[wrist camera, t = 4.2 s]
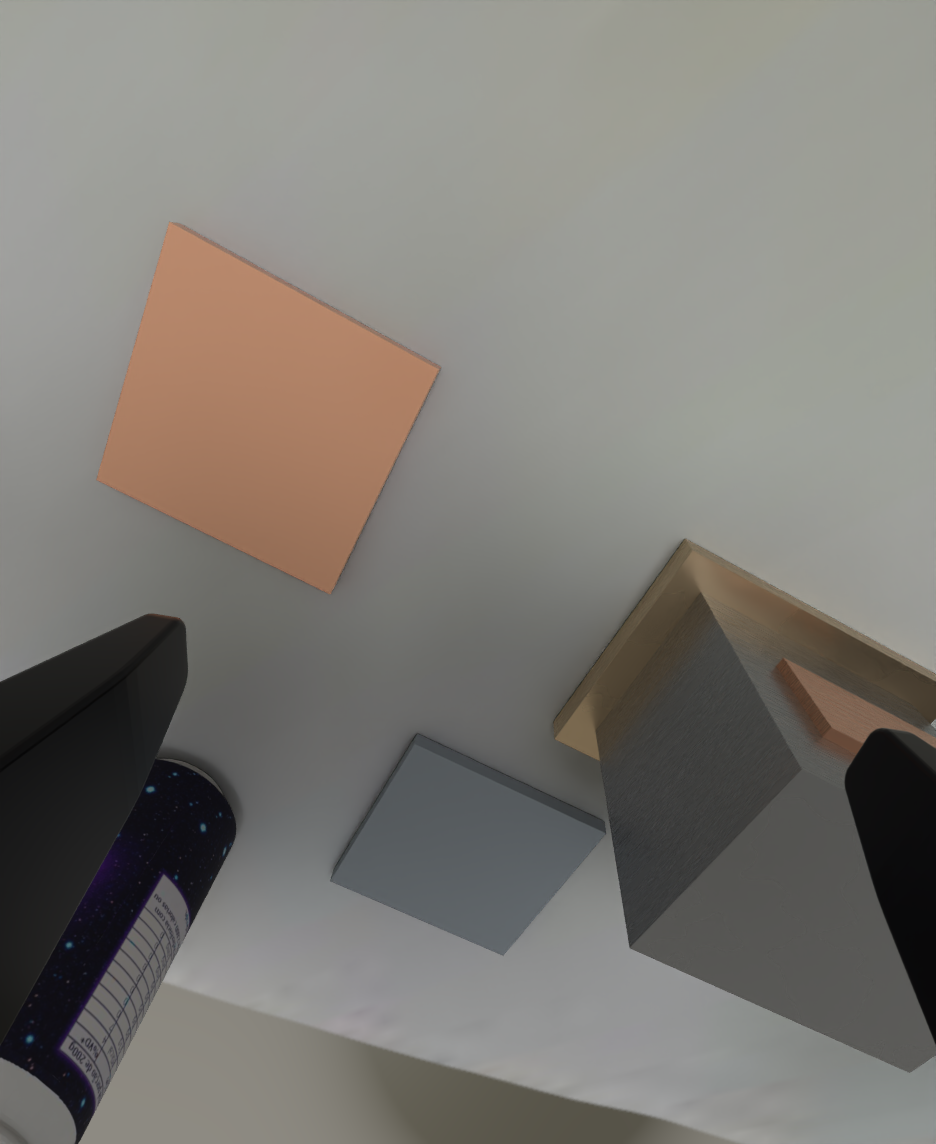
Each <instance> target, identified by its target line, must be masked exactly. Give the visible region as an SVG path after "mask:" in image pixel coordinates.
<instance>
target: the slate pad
mask: <svg viewBox="0 0 936 1144" xmlns="http://www.w3.org/2000/svg"><path fill="white" fill-rule="evenodd" d="M605 834H606V830H605V823H604V821H602V820H600V819H598V818H596V817H594V816H592V815H589V814H587V813H585V812H583V811H581V810H579V809H577V808H575V807H572V806H570V805H568V804H566V803H564V802H562V801H560V800H557V799H555V798H553V797H551V796H549V795H547V794H545V793H543V792H540V791H538V790H536V789H534V788H532V787H530V786H528V785H526V784H523V783H521V782H519V781H517V780H515V779H513V778H511V777H509V776H506V775H504V774H502V773H500V772H498V771H496V770H494V769H492V768H489V767H487V766H485V765H483V764H481V763H479V762H477V761H475V760H472V759H470V758H468V757H466V756H464V755H462V754H460V753H457V752H455V751H453V750H451V749H449V748H447V747H445V746H443V745H440V744H438V743H436V742H434V741H432V740H430V739H428V738H426V737H423V736H421V735H419V734H417V735H416V736H415V738H414V740H413V741H412V743H411V744H410V746H409V748H408V749H407V751H406V753H405V754H404V756H403V758H402V759H401V761H400V762H399V764H398V766H397V767H396V769H395V771H394V772H393V774H392V775H391V777H390V779H389V780H388V782H387V784H386V785H385V787H384V789H383V790H382V792H381V793H380V795H379V797H378V798H377V800H376V802H375V803H374V805H373V806H372V808H371V810H370V811H369V813H368V815H367V816H366V818H365V820H364V821H363V823H362V824H361V826H360V828H359V829H358V831H357V833H356V834H355V836H354V837H353V839H352V841H351V842H350V844H349V846H348V847H347V849H346V851H345V852H344V854H343V855H342V857H341V859H340V860H339V862H338V864H337V865H336V867H335V869H334V871H333V874H332V877H331V880H330V881H331V882H334V883H336V884H338V885H341V886H343V887H345V888H347V889H350V890H352V891H354V892H357V893H359V894H361V895H364V896H366V897H368V898H371V899H373V900H375V901H378V902H380V903H382V904H385V905H387V906H389V907H392V908H394V909H396V910H398V911H401V912H403V913H405V914H408V915H410V916H412V917H415V918H417V919H419V920H422V921H424V922H426V923H429V924H431V925H433V926H436V927H438V928H440V929H442V930H445V931H447V932H449V933H452V934H454V935H456V936H459V937H461V938H463V939H466V940H468V941H470V942H473V943H475V944H477V945H480V946H482V947H484V948H487V949H489V950H491V951H493V952H496V953H498V954H500V955H504V954H505V953H506V952H507V950H508V949H509V948H510V947H511V946H512V945H513V943H514V942H515V941H516V940H517V939H518V937H519V936H520V935H521V934H522V933H523V931H524V930H525V929H526V928H527V927H528V926H529V924H530V923H531V922H532V921H533V920H534V918H535V917H536V916H537V915H538V914H539V912H540V911H541V910H542V909H543V908H544V907H545V905H546V904H547V903H548V902H549V901H550V899H551V898H552V897H553V896H554V895H555V893H556V892H557V891H558V890H559V889H560V888H561V886H562V885H563V884H564V883H565V882H566V880H567V879H568V878H569V877H570V876H571V874H572V873H573V872H574V871H575V870H576V868H577V867H578V866H579V865H580V864H581V863H582V861H583V860H584V859H585V858H586V857H587V855H588V854H589V853H590V852H591V851H592V849H593V848H594V847H595V846H596V845H597V844H598V842H599V841H600V840H601V839H602V838H603V836H604V835H605Z"/></svg>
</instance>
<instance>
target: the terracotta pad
mask: <svg viewBox="0 0 936 1144" xmlns="http://www.w3.org/2000/svg"><path fill="white" fill-rule="evenodd" d="M440 369H441V367H440V366H438V365H437V364H435V363H433V362H431V361H429V360H427V359H426V358H424V357H422V356H420V355H418V354H417V353H415V352H413V351H411V350H409V349H407V348H406V347H404V346H402V345H400V344H398V343H396V342H395V341H393V340H391V339H389V338H387V337H386V336H384V335H382V334H380V333H378V332H376V331H375V330H373V329H371V328H369V327H367V326H366V325H364V324H362V323H360V322H358V321H356V320H355V319H353V318H351V317H349V316H347V315H346V314H344V313H342V312H340V311H338V310H336V309H335V308H333V307H331V306H329V305H327V304H325V303H324V302H322V301H320V300H318V299H316V298H315V297H313V296H311V295H309V294H307V293H305V292H304V291H302V290H300V289H298V288H296V287H295V286H293V285H291V284H289V283H287V282H285V281H284V280H282V279H280V278H278V277H276V276H274V275H273V274H271V273H269V272H267V271H265V270H264V269H262V268H260V267H258V266H256V265H254V264H253V263H251V262H249V261H247V260H245V259H244V258H242V257H240V256H238V255H236V254H234V253H233V252H231V251H229V250H227V249H225V248H223V247H222V246H220V245H218V244H216V243H214V242H213V241H211V240H209V239H207V238H205V237H203V236H202V235H200V234H198V233H196V232H194V231H193V230H191V229H189V228H187V227H185V226H183V225H182V224H179V223H173V222H169V225H168V229H167V232H166V236H165V239H164V243H163V246H162V250H161V253H160V257H159V261H158V264H157V268H156V271H155V275H154V278H153V282H152V285H151V289H150V292H149V296H148V299H147V303H146V306H145V310H144V314H143V317H142V321H141V324H140V328H139V331H138V335H137V338H136V342H135V345H134V349H133V352H132V356H131V359H130V363H129V366H128V370H127V374H126V377H125V381H124V384H123V388H122V391H121V395H120V398H119V402H118V405H117V409H116V412H115V416H114V419H113V423H112V427H111V430H110V434H109V437H108V441H107V444H106V448H105V451H104V455H103V458H102V462H101V465H100V469H99V472H98V476H97V479H96V480H98V481H100V482H102V483H104V484H106V485H108V486H110V487H112V488H114V489H116V490H118V491H120V492H122V493H124V494H126V495H128V496H130V497H132V498H134V499H136V500H138V501H140V502H142V503H144V504H147V505H149V506H151V507H153V508H155V509H157V510H159V511H161V512H163V513H165V514H167V515H169V516H171V517H173V518H175V519H177V520H179V521H181V522H183V523H185V524H187V525H189V526H191V527H193V528H195V529H198V530H200V531H202V532H204V533H206V534H208V535H210V536H212V537H214V538H216V539H218V540H220V541H222V542H224V543H226V544H228V545H230V546H232V547H234V548H236V549H238V550H240V551H242V552H244V553H247V554H249V555H251V556H253V557H255V558H257V559H259V560H261V561H263V562H265V563H267V564H269V565H271V566H273V567H275V568H277V569H279V570H281V571H283V572H285V573H287V574H289V575H291V576H293V577H295V578H298V579H300V580H302V581H304V582H306V583H308V584H310V585H312V586H314V587H316V588H318V589H320V590H322V591H324V592H326V593H328V594H331V592H332V591H333V589H334V588H335V586H336V584H337V582H338V580H339V578H340V575H341V573H342V571H343V569H344V567H345V565H346V563H347V561H348V559H349V557H350V555H351V553H352V551H353V549H354V547H355V544H356V542H357V540H358V538H359V536H360V534H361V532H362V530H363V528H364V526H365V524H366V522H367V520H368V518H369V516H370V514H371V511H372V509H373V507H374V505H375V503H376V501H377V499H378V497H379V495H380V493H381V491H382V489H383V487H384V485H385V483H386V480H387V478H388V476H389V474H390V472H391V470H392V468H393V466H394V464H395V462H396V460H397V458H398V456H399V454H400V452H401V449H402V447H403V445H404V443H405V441H406V439H407V437H408V435H409V433H410V431H411V429H412V427H413V425H414V423H415V421H416V418H417V416H418V414H419V412H420V410H421V408H422V406H423V404H424V402H425V400H426V398H427V396H428V394H429V392H430V390H431V388H432V385H433V383H434V381H435V379H436V377H437V375H438V373H439V371H440Z"/></svg>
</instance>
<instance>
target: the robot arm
mask: <svg viewBox="0 0 936 1144" xmlns="http://www.w3.org/2000/svg"><path fill="white" fill-rule="evenodd" d="M187 675H188V662H187V642H186V627H185V624H184V622H183V621H182V620H181V619H180V618H178V617H171V616H165V615H158V614H146V615H144V616H141V617H139V618H137V619H135V620H133V621H131V622H128V623H126V624H124V625H122V626H120V627H118V628H115V629H113V630H111V631H109V632H107V633H105V634H102V635H100V636H98V637H96V638H94V639H92V640H90V641H87V642H85V643H83V644H81V645H79V646H77V647H74V648H72V649H70V650H68V651H66V652H64V653H61V654H59V655H57V656H55V657H53V658H51V659H48V660H46V661H44V662H42V663H40V664H38V665H36V666H33V667H31V668H29V669H27V670H25V671H23V672H20V673H18V674H16V675H14V676H12V677H10V678H7V679H5V680H3V681H1V682H0V1045H1V1043H2V1042H3V1040H4V1038H5V1036H6V1034H7V1033H8V1031H9V1029H10V1027H11V1025H12V1024H13V1022H14V1020H15V1018H16V1016H17V1015H18V1013H19V1011H20V1009H21V1008H22V1006H23V1004H24V1002H25V1000H26V999H27V997H28V995H29V993H30V991H31V990H32V988H33V986H34V984H35V983H36V981H37V979H38V977H39V975H40V974H41V972H42V970H43V968H44V966H45V965H46V963H47V961H48V959H49V958H50V956H51V954H52V952H53V950H54V949H55V947H56V945H57V943H58V941H59V940H60V938H61V936H62V934H63V932H64V931H65V929H66V927H67V925H68V924H69V922H70V920H71V918H72V916H73V915H74V913H75V911H76V909H77V907H78V906H79V904H80V902H81V900H82V899H83V897H84V895H85V893H86V891H87V890H88V888H89V886H90V884H91V882H92V881H93V879H94V877H95V875H96V874H97V872H98V870H99V868H100V866H101V865H102V863H103V861H104V859H105V857H106V856H107V854H108V852H109V850H110V849H111V847H112V845H113V843H114V841H115V840H116V838H117V836H118V834H119V832H120V831H121V829H122V827H123V825H124V823H125V822H126V820H127V818H128V816H129V815H130V813H131V811H132V809H133V807H134V805H135V803H136V801H137V799H138V797H139V795H140V793H141V791H142V789H143V786H144V784H145V782H146V780H147V777H148V775H149V773H150V770H151V768H152V765H153V763H154V761H155V758H156V756H157V753H158V751H159V749H160V746H161V744H162V741H163V739H164V737H165V734H166V732H167V729H168V727H169V725H170V722H171V720H172V717H173V715H174V713H175V710H176V708H177V705H178V703H179V701H180V698H181V696H182V693H183V691H184V688H185V685H186V681H187ZM844 784H845V791H846V794H847V798H848V801H849V804H850V808H851V811H852V815H853V818H854V821H855V825H856V828H857V832H858V835H859V839H860V842H861V845H862V849H863V852H864V856H865V859H866V863H867V866H868V869H869V873H870V876H871V880H872V883H873V886H874V889H875V892H876V895H877V899H878V901H879V904H880V907H881V909H882V912H883V915H884V917H885V920H886V923H887V925H888V928H889V930H890V933H891V935H892V938H893V940H894V943H895V945H896V948H897V950H898V953H899V955H900V958H901V960H902V963H903V965H904V968H905V970H906V973H907V975H908V978H909V980H910V983H911V985H912V988H913V990H914V993H915V995H916V998H917V1000H918V1003H919V1005H920V1008H921V1010H922V1013H923V1015H924V1018H925V1020H926V1023H927V1025H928V1028H929V1030H930V1033H931V1035H932V1038H933V1040H934V1043H935V1045H936V748H934V747H933V746H931V745H930V744H928V743H927V742H925V741H924V740H922V739H921V738H919V737H918V736H916V735H915V734H913V733H910V732H907V731H902V730H895V729H889V728H878V729H876V730H874V731H872V732H871V733H870V734H869V736H868V737H867V739H866V740H865V742H864V743H863V745H862V747H861V748H860V750H859V751H858V753H857V754H856V756H855V757H854V759H853V761H852V762H851V764H850V765H849V767H848V769H847V770H846V774H845V780H844Z"/></svg>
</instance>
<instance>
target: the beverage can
mask: <svg viewBox="0 0 936 1144" xmlns="http://www.w3.org/2000/svg"><path fill="white" fill-rule="evenodd" d="M235 835H236V823H235V818H234V815H233V812H232V810H231V807H230V805H229V804H228V802H227V800H226V799H225V797H224V795H223V793H222V791H221V789H220V788H219V786H218V785H217V784H216V783H215V781H214V780H213V779H212V778H211V777H210V776H208V775H207V774H206V773H205V772H203V771H202V770H200V769H198V768H197V767H195V766H193V765H190V764H188V763H186V762H182V761H179V760H174V759H163V758H162V759H155V761H154V763H153V765H152V768H151V770H150V773H149V775H148V777H147V780H146V782H145V784H144V786H143V789H142V791H141V793H140V795H139V797H138V799H137V801H136V803H135V805H134V807H133V809H132V811H131V813H130V815H129V816H128V818H127V820H126V822H125V823H124V825H123V827H122V829H121V831H120V832H119V834H118V836H117V838H116V840H115V841H114V843H113V845H112V847H111V849H110V850H109V852H108V854H107V856H106V857H105V859H104V861H103V863H102V865H101V866H100V868H99V870H98V872H97V874H96V875H95V877H94V879H93V881H92V882H91V884H90V886H89V888H88V890H87V891H86V893H85V895H84V897H83V899H82V900H81V902H80V904H79V906H78V907H77V909H76V911H75V913H74V915H73V916H72V918H71V920H70V922H69V924H68V925H67V927H66V929H65V931H64V932H63V934H62V936H61V938H60V940H59V941H58V943H57V945H56V947H55V949H54V950H53V952H52V954H51V956H50V958H49V959H48V961H47V963H46V965H45V966H44V968H43V970H42V972H41V974H40V975H39V977H38V979H37V981H36V983H35V984H34V986H33V988H32V990H31V991H30V993H29V995H28V997H27V999H26V1000H25V1002H24V1004H23V1006H22V1008H21V1009H20V1011H19V1013H18V1015H17V1016H16V1018H15V1020H14V1022H13V1024H12V1025H11V1027H10V1029H9V1031H8V1033H7V1034H6V1036H5V1038H4V1040H3V1042H2V1043H1V1045H0V1144H78V1143H79V1141H80V1140H81V1138H82V1136H83V1134H84V1132H85V1130H86V1128H87V1126H88V1124H89V1122H90V1120H91V1118H92V1116H93V1115H94V1113H95V1111H96V1109H97V1107H98V1105H99V1103H100V1101H101V1099H102V1097H103V1095H104V1093H105V1091H106V1089H107V1087H108V1085H109V1084H110V1082H111V1079H112V1078H113V1076H114V1074H115V1072H116V1070H117V1068H118V1066H119V1064H120V1062H121V1060H122V1058H123V1056H124V1054H125V1053H126V1051H127V1049H128V1047H129V1045H130V1043H131V1041H132V1039H133V1037H134V1035H135V1033H136V1031H137V1029H138V1027H139V1025H140V1023H141V1022H142V1020H143V1018H144V1016H145V1014H146V1012H147V1010H148V1008H149V1006H150V1004H151V1002H152V1000H153V998H154V996H155V994H156V992H157V991H158V989H159V987H160V985H161V983H162V981H163V979H164V977H165V975H166V973H167V971H168V969H169V967H170V965H171V963H172V961H173V960H174V958H175V956H176V954H177V952H178V950H179V948H180V946H181V944H182V942H183V940H184V938H185V936H186V934H187V932H188V930H189V929H190V927H191V925H192V923H193V921H194V919H195V917H196V915H197V913H198V911H199V909H200V907H201V905H202V903H203V901H204V899H205V898H206V896H207V894H208V892H209V890H210V888H211V886H212V884H213V882H214V880H215V878H216V876H217V874H218V872H219V870H220V868H221V867H222V865H223V863H224V861H225V859H226V857H227V855H228V853H229V851H230V849H231V847H232V845H233V843H234V840H235Z"/></svg>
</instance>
